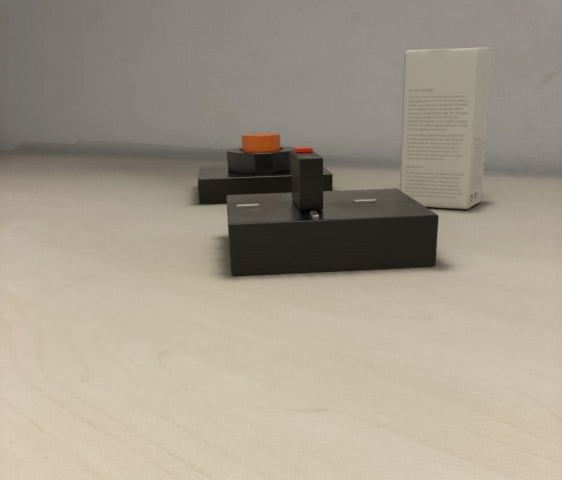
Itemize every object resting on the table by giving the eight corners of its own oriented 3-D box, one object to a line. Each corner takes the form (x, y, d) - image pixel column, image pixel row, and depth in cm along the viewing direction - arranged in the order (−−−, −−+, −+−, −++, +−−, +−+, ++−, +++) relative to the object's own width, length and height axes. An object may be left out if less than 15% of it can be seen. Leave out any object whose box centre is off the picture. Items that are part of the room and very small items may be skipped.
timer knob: (323, 209, 42) (323, 153, 41) (300, 211, 42) (299, 154, 41) (313, 197, 46) (312, 146, 45) (291, 198, 46) (290, 146, 45)
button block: (199, 204, 63) (196, 157, 61) (201, 187, 72) (198, 146, 70) (332, 198, 63) (332, 152, 62) (317, 182, 73) (317, 142, 71)
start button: (243, 156, 64) (242, 136, 64) (241, 152, 68) (241, 133, 67) (282, 155, 65) (281, 134, 64) (279, 150, 68) (278, 131, 67)
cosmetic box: (482, 202, 60) (496, 47, 55) (467, 211, 56) (480, 46, 52) (414, 198, 63) (422, 50, 58) (396, 205, 59) (402, 49, 55)
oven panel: (231, 275, 40) (228, 220, 39) (228, 238, 50) (226, 192, 48) (435, 266, 41) (439, 212, 40) (396, 231, 50) (397, 185, 49)
